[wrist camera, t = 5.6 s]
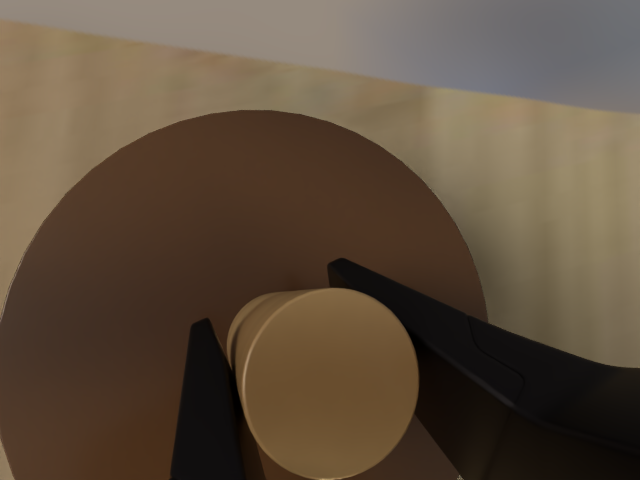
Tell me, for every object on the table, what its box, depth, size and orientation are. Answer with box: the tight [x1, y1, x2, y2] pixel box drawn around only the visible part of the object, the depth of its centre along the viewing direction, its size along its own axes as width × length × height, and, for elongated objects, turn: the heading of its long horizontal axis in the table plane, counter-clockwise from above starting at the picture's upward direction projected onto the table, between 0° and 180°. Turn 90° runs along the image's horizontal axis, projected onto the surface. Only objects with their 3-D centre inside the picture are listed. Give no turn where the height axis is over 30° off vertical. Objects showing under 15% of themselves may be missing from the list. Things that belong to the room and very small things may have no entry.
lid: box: [0, 110, 488, 480], centre depth 10 cm, size 15×15×7 cm
